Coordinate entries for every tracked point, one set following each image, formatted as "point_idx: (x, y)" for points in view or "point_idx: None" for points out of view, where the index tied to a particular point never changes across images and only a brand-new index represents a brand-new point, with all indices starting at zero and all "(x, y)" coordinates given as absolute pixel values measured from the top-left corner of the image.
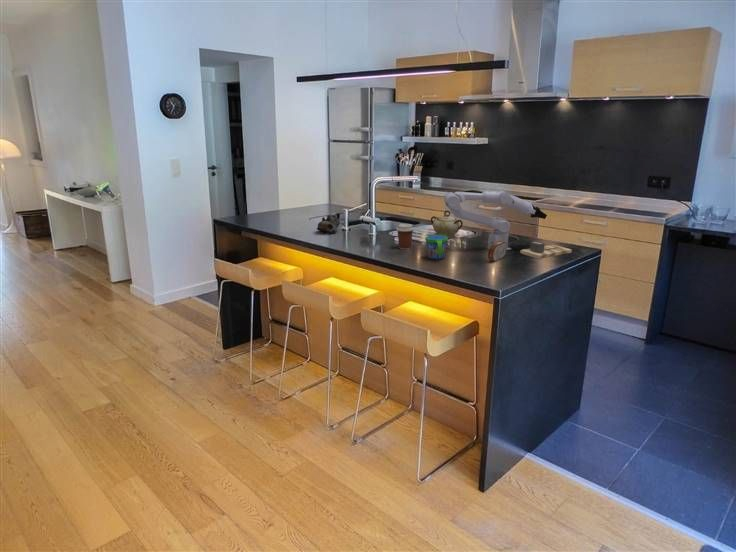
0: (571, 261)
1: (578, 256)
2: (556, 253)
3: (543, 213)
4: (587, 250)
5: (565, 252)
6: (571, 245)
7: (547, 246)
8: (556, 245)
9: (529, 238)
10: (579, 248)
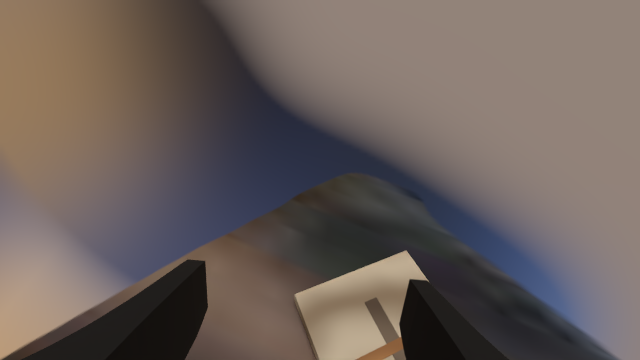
0: (582, 331)
1: (468, 259)
2: None
3: (464, 331)
4: (364, 191)
5: None
6: (276, 208)
7: (335, 349)
8: (318, 285)
9: (27, 351)
10: (330, 202)
